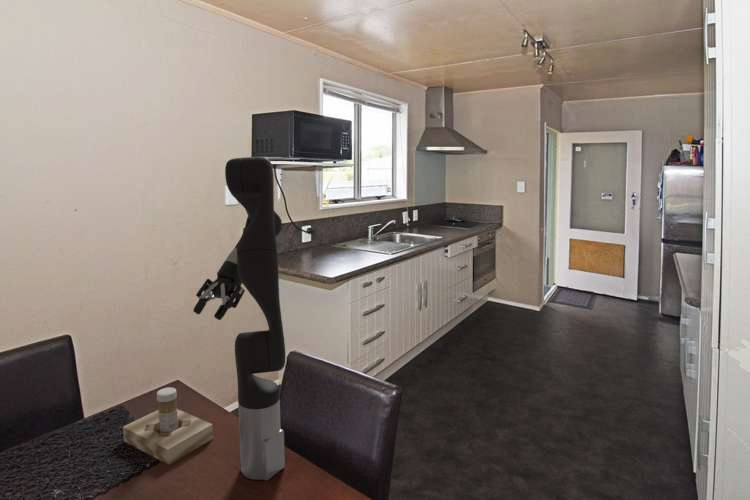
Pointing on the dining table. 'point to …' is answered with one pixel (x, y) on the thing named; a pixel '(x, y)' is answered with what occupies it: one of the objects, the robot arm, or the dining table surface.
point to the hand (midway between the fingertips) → (206, 315)
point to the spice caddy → (168, 436)
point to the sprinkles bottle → (167, 410)
